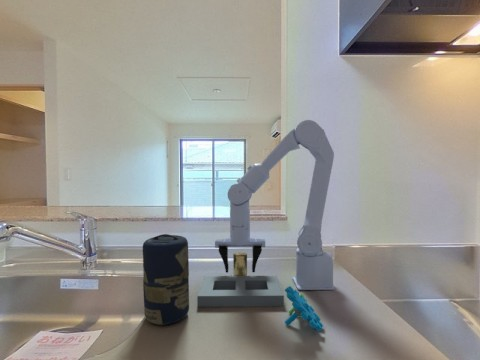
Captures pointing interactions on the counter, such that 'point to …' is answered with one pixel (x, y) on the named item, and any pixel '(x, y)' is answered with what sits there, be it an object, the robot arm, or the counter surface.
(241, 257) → the bushing
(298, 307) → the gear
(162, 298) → the canister
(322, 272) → the robot arm
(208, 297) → the jig
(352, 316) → the counter surface
